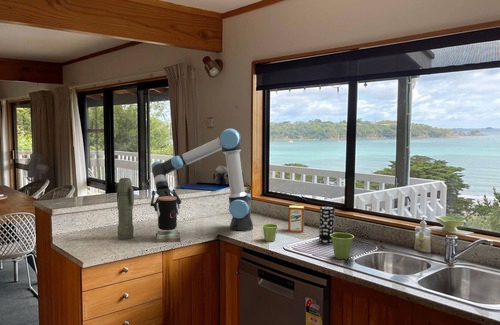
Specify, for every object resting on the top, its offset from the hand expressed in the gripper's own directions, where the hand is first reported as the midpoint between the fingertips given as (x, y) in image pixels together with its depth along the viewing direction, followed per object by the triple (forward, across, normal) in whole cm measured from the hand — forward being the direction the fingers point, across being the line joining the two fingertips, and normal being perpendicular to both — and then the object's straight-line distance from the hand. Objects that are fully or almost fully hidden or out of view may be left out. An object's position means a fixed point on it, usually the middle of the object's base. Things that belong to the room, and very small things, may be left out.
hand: (168, 214), depth 235 cm
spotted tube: (+40, -80, +19) cm, 92 cm away
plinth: (+9, 0, -12) cm, 15 cm away
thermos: (0, +21, -22) cm, 30 cm away
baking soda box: (+20, -79, -2) cm, 81 cm away
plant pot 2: (+58, -70, +37) cm, 99 cm away
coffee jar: (+4, 0, -8) cm, 9 cm away
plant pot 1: (+28, -53, +7) cm, 60 cm away
